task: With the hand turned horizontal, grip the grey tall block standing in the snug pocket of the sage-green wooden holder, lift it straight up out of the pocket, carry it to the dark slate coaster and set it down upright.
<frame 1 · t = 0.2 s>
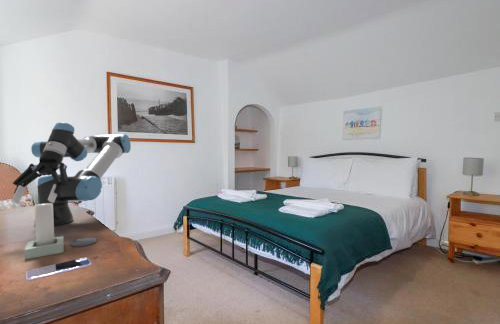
hand: (32, 202, 102), 15 cm above the dresser, tool tilted 35°, fingers open, 13 cm apart
coaster: (83, 243, 100), on the dresser
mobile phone: (60, 270, 78), on the dresser
holder: (45, 251, 92), on the dresser
grey tall block: (44, 227, 92), in the holder
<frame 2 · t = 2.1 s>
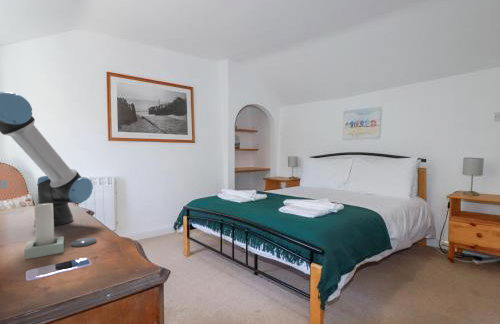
hand: (4, 185, 86), 23 cm above the dresser, tool horizontal, fingers open, 13 cm apart
nothing on the dresser moved.
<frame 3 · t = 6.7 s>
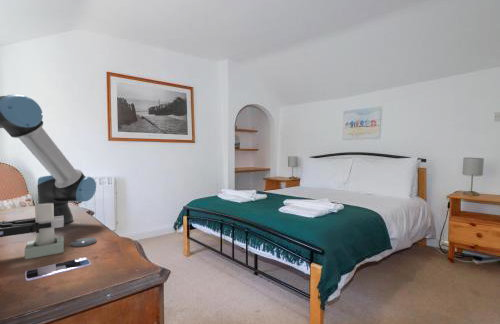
hand: (63, 221, 95), 10 cm above the dresser, tool horizontal, fingers closed on grey tall block, 5 cm apart
grey tall block: (45, 227, 92), in the holder, touching gripper
everything else where it was.
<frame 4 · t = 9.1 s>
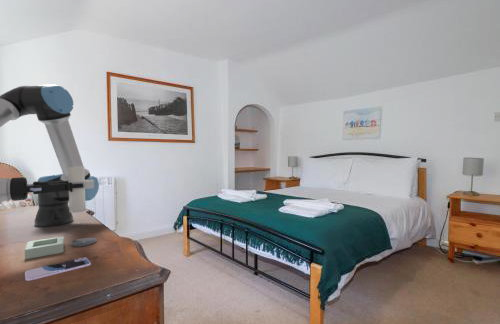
hand: (93, 183, 101), 22 cm above the dresser, tool horizontal, fingers closed on grey tall block, 5 cm apart
grey tall block: (76, 189, 98), point 20 cm above the dresser, touching gripper
everything else where it was.
when the fingers open (11 cm above the dresser, at t = 11.5 s): grey tall block drops 1 cm, resting on coaster.
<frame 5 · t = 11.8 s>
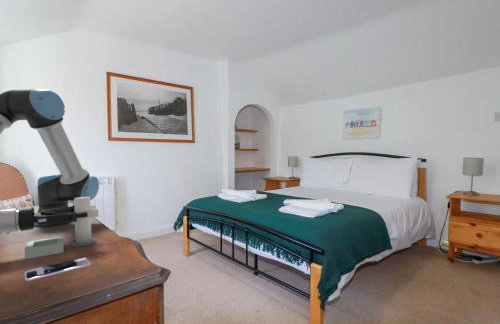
hand: (96, 210, 102), 11 cm above the dresser, tool horizontal, fingers open, 9 cm apart
grey tall block: (82, 219, 100), on the coaster, point 9 cm above the dresser
everything else where it was.
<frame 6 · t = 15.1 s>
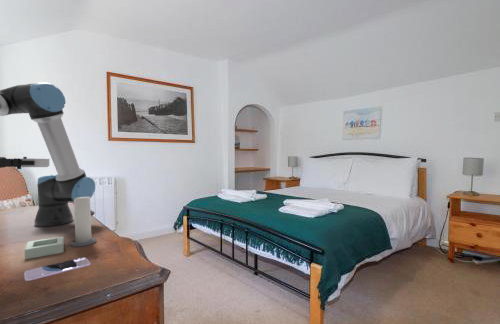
hand: (48, 162, 95), 30 cm above the dresser, tool horizontal, fingers open, 13 cm apart
nothing on the dresser moved.
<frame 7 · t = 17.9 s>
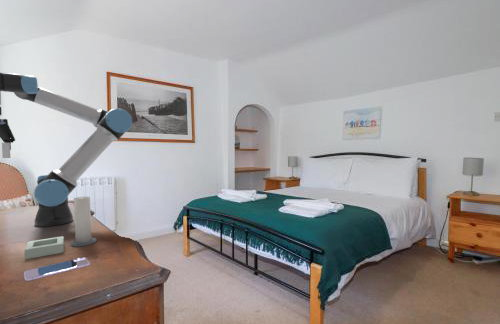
nothing on the dresser moved.
at the end: grey tall block 0.1 cm from the coaster (horizontally); grey tall block point 8.8 cm above the dresser; grey tall block tilted 0° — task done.
